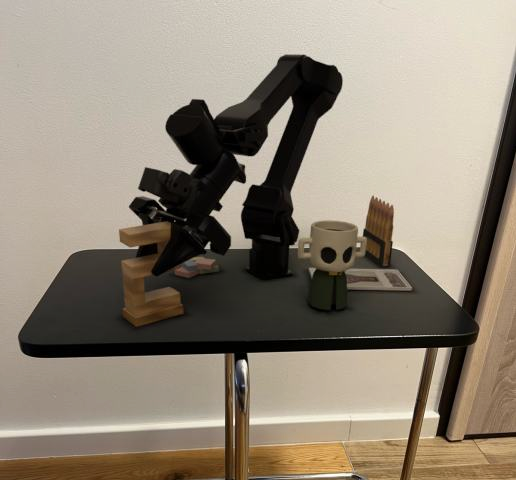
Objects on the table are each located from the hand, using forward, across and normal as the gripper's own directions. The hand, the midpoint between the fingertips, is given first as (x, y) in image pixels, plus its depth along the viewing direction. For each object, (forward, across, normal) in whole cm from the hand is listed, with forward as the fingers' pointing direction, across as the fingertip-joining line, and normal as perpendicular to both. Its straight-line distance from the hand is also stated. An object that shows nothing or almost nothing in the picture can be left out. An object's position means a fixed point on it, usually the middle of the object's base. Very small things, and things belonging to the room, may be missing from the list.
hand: (144, 270), depth 78 cm
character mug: (-13, +14, +23) cm, 29 cm away
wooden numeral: (+4, 0, +6) cm, 7 cm away
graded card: (-23, +9, +32) cm, 40 cm away
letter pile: (-9, -13, +18) cm, 24 cm away
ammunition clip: (-33, +3, +41) cm, 53 cm away
